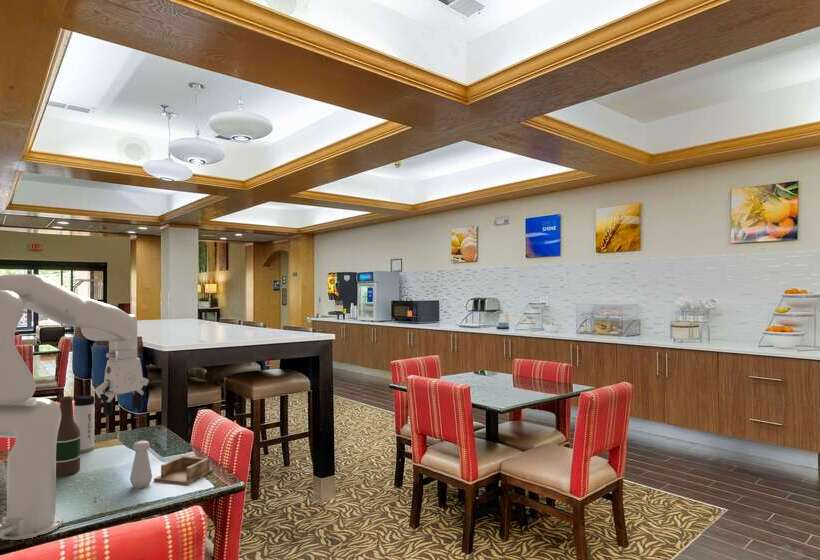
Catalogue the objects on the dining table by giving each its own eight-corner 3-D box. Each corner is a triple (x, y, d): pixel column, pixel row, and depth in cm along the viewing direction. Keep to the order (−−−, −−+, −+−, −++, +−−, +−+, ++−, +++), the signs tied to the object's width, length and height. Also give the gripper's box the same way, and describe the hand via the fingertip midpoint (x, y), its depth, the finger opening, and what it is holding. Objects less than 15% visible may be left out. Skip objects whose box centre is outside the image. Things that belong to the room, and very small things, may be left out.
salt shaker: (125, 487, 151) (125, 442, 151) (143, 481, 156) (143, 437, 156) (138, 490, 148) (138, 445, 148) (156, 484, 153) (156, 440, 154)
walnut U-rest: (187, 485, 152) (187, 470, 153) (153, 481, 156) (154, 467, 156) (213, 471, 164) (213, 457, 164) (181, 468, 167) (181, 454, 167)
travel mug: (74, 449, 188) (74, 394, 189) (95, 446, 191) (95, 392, 192) (71, 454, 183) (71, 397, 183) (92, 451, 185) (93, 395, 186)
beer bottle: (65, 477, 159) (66, 400, 160) (44, 476, 161) (45, 399, 161) (86, 469, 167) (86, 395, 167) (65, 467, 168) (66, 394, 169)
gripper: (105, 359, 147) (105, 419, 146) (156, 352, 163) (156, 406, 162) (87, 357, 150) (87, 417, 149) (139, 351, 166) (138, 404, 165)
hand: (123, 411), depth 156 cm, fingers open, 9 cm apart
